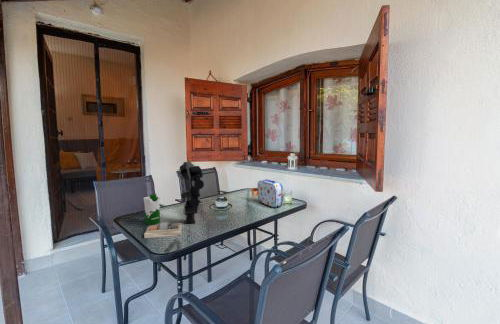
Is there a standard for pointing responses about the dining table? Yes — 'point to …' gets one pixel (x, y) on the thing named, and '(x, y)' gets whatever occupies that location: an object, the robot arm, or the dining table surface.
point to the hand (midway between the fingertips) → (195, 210)
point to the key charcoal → (174, 226)
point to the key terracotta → (154, 228)
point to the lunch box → (270, 193)
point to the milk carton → (152, 209)
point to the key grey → (164, 226)
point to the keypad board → (163, 231)
